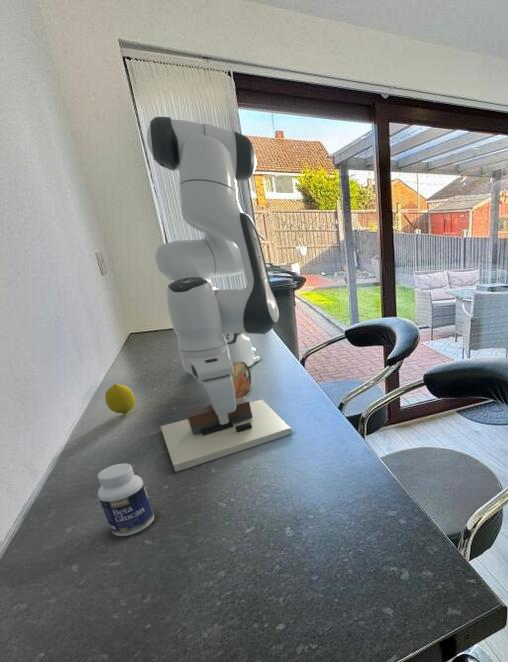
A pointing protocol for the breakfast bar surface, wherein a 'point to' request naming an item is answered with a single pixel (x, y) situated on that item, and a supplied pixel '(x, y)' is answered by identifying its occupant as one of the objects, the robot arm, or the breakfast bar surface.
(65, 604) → the breakfast bar surface
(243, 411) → the eraser
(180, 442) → the memo board
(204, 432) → the stroke
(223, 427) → the stroke
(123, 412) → the lemon
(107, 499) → the pill bottle
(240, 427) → the stroke
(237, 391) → the tin
